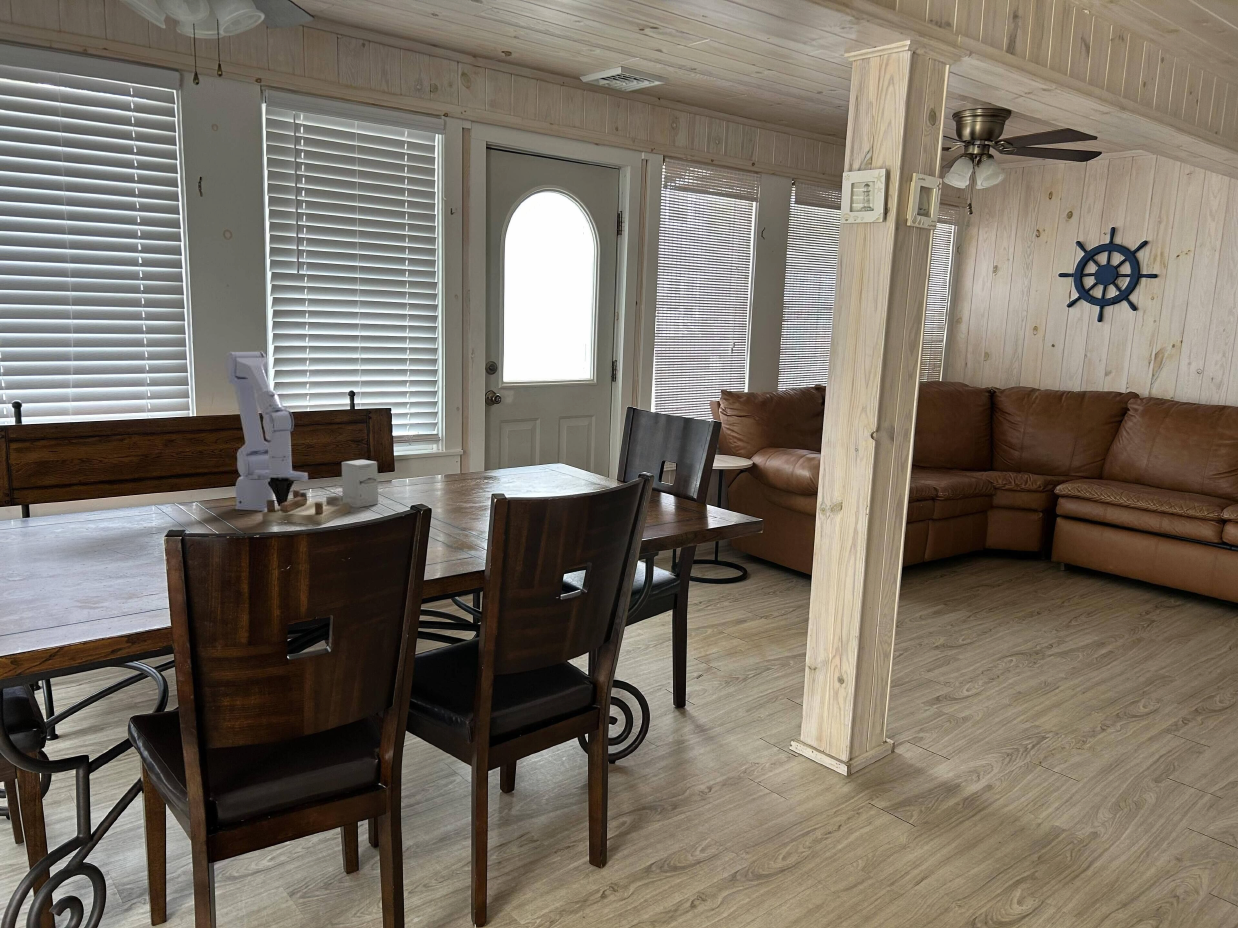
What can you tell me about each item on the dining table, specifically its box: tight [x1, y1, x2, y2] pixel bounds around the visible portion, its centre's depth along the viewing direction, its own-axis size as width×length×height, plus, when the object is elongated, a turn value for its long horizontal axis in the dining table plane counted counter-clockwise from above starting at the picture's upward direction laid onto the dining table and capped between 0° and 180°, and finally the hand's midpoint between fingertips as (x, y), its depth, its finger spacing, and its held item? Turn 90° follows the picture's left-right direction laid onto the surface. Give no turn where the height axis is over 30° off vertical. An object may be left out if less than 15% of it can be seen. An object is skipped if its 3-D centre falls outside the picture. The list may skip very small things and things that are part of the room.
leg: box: [280, 491, 308, 512], centre depth 246 cm, size 11×2×3 cm, turn 170°
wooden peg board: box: [261, 489, 351, 526], centre depth 248 cm, size 17×16×6 cm
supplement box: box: [341, 459, 379, 509], centre depth 262 cm, size 7×7×13 cm
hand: (282, 505), depth 245 cm, fingers closed
